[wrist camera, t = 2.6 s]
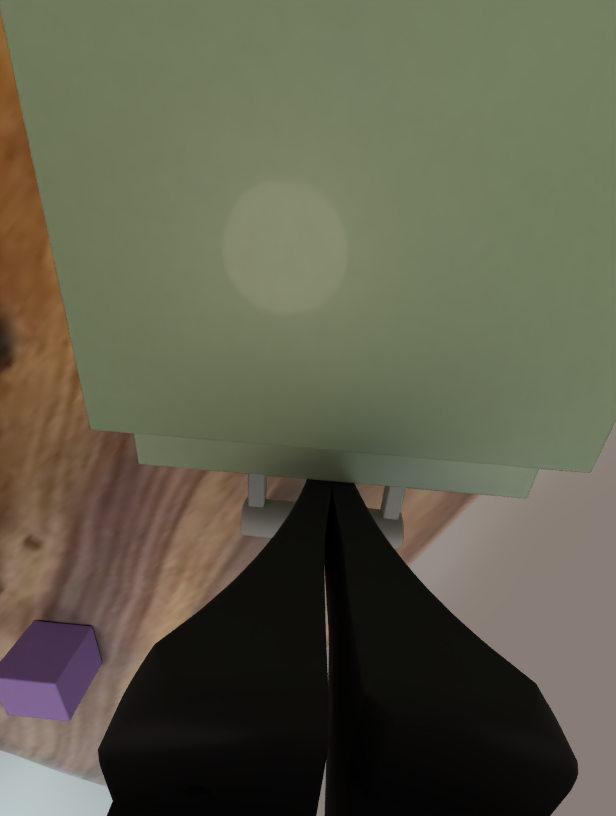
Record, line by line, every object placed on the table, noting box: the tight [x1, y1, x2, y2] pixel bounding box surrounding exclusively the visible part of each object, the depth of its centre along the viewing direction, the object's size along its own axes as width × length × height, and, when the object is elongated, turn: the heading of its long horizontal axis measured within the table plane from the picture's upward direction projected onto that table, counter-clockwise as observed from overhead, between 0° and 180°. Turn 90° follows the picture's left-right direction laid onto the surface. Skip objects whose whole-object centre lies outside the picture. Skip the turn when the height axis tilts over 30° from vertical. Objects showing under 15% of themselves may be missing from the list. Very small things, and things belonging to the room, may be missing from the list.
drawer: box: [134, 433, 539, 550], centre depth 11 cm, size 17×11×6 cm
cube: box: [0, 621, 102, 721], centre depth 23 cm, size 4×4×4 cm
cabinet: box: [0, 0, 616, 473], centre depth 9 cm, size 13×12×8 cm
